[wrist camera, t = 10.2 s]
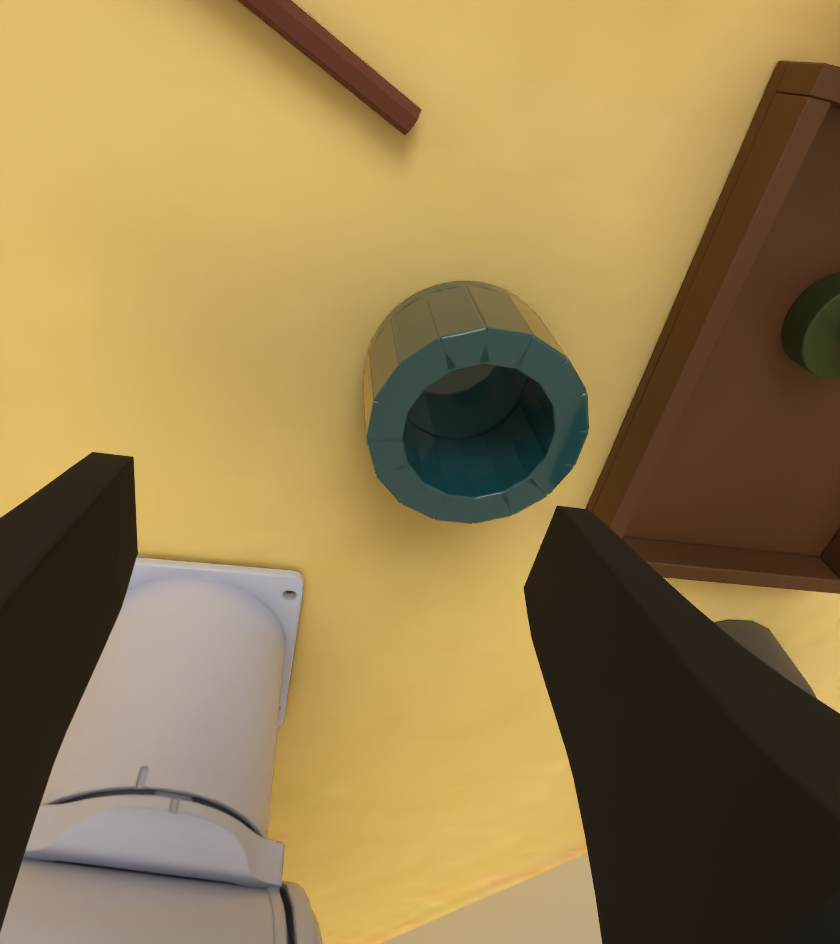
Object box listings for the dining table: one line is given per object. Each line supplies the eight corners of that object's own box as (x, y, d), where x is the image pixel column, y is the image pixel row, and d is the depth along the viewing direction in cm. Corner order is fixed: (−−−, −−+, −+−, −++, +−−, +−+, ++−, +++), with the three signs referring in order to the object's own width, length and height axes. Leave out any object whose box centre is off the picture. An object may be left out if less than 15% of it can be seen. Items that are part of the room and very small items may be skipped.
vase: (520, 463, 23) (549, 533, 20) (351, 442, 22) (352, 512, 19) (576, 299, 20) (622, 349, 17) (381, 263, 19) (390, 311, 16)
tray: (817, 562, 28) (846, 595, 26) (573, 537, 26) (589, 571, 24) (1107, 151, 19) (1179, 162, 18) (777, 60, 17) (824, 62, 15)
